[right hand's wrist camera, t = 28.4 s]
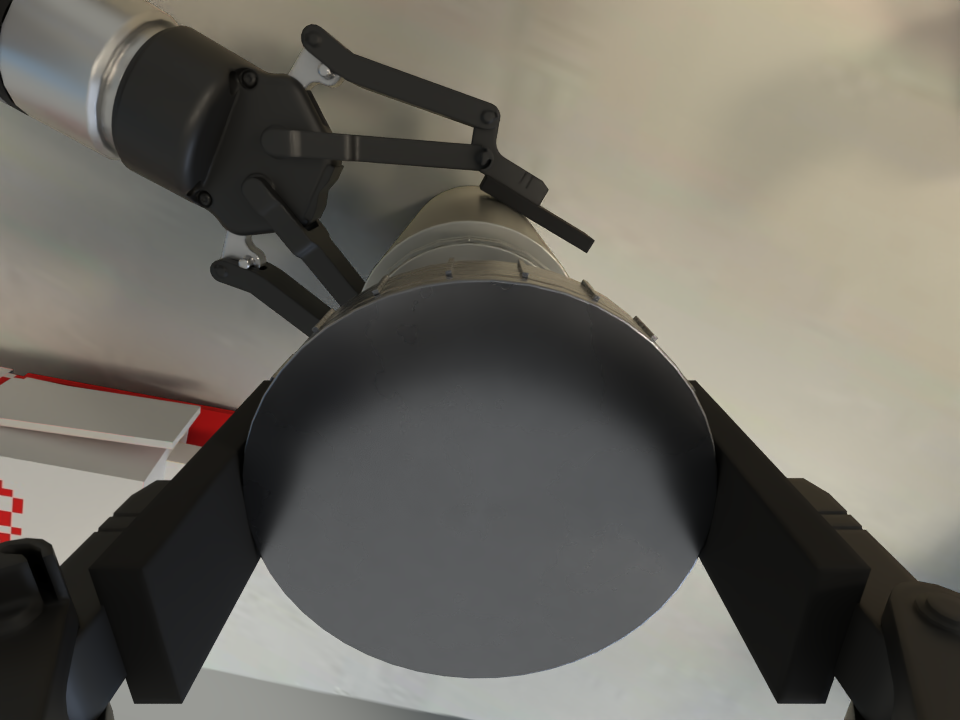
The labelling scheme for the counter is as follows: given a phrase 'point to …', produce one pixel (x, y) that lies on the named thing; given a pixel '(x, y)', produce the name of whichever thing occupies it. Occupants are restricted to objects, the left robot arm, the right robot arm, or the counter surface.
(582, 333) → the lid
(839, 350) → the counter surface
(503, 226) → the jar
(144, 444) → the toy
